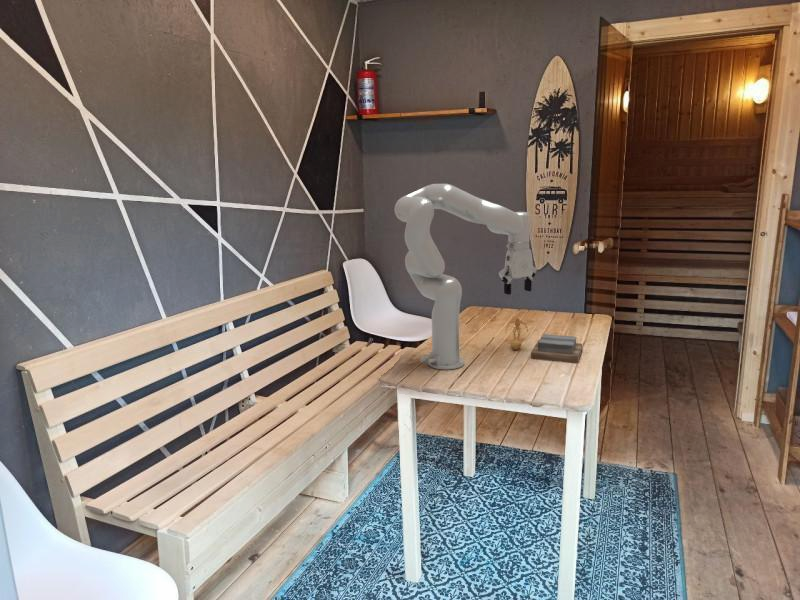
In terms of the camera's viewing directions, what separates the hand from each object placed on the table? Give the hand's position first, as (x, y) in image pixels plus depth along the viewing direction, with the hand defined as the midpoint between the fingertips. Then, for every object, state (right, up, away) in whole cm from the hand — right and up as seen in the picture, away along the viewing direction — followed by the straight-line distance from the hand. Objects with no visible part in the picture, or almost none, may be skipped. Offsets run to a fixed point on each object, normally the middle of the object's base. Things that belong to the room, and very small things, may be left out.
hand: (517, 292), depth 208 cm
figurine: (0, -22, +5) cm, 22 cm away
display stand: (+14, -23, -3) cm, 27 cm away
